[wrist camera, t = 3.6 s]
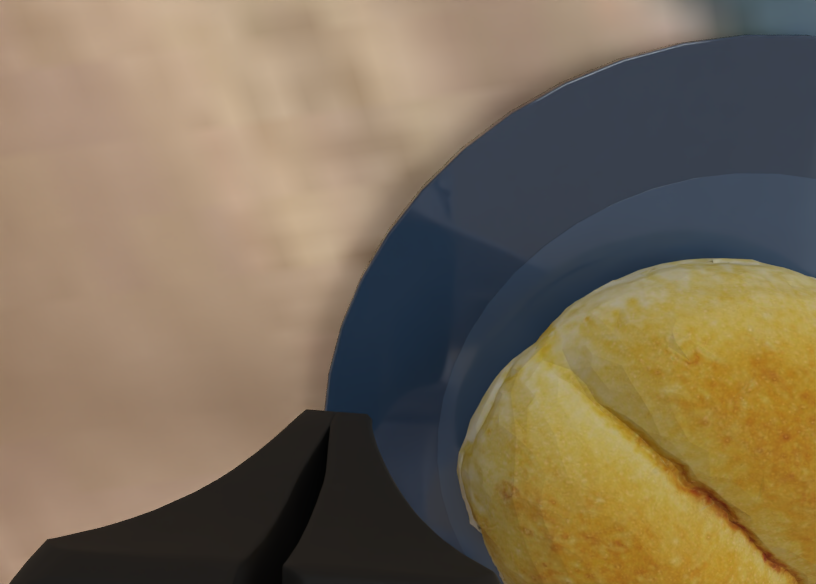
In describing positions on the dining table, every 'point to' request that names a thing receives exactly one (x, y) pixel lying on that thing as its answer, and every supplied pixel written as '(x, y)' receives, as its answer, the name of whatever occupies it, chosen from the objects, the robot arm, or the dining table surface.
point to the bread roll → (656, 434)
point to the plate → (570, 234)
